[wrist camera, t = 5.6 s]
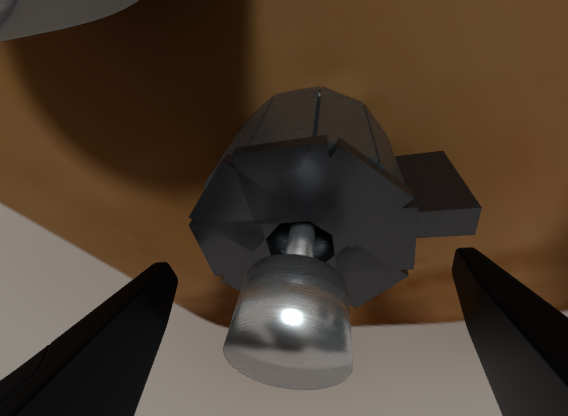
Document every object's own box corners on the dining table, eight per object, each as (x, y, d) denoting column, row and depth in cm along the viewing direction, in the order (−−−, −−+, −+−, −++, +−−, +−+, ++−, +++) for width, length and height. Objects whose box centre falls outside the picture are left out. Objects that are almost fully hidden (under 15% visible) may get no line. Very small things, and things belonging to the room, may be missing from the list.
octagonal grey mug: (444, 63, 11) (521, 116, 6) (427, 215, 15) (467, 309, 10) (217, 104, 13) (157, 165, 8) (258, 227, 17) (232, 310, 12)
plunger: (358, 123, 11) (393, 300, 5) (363, 216, 14) (389, 408, 7) (246, 140, 12) (154, 303, 6) (270, 223, 15) (226, 396, 8)
